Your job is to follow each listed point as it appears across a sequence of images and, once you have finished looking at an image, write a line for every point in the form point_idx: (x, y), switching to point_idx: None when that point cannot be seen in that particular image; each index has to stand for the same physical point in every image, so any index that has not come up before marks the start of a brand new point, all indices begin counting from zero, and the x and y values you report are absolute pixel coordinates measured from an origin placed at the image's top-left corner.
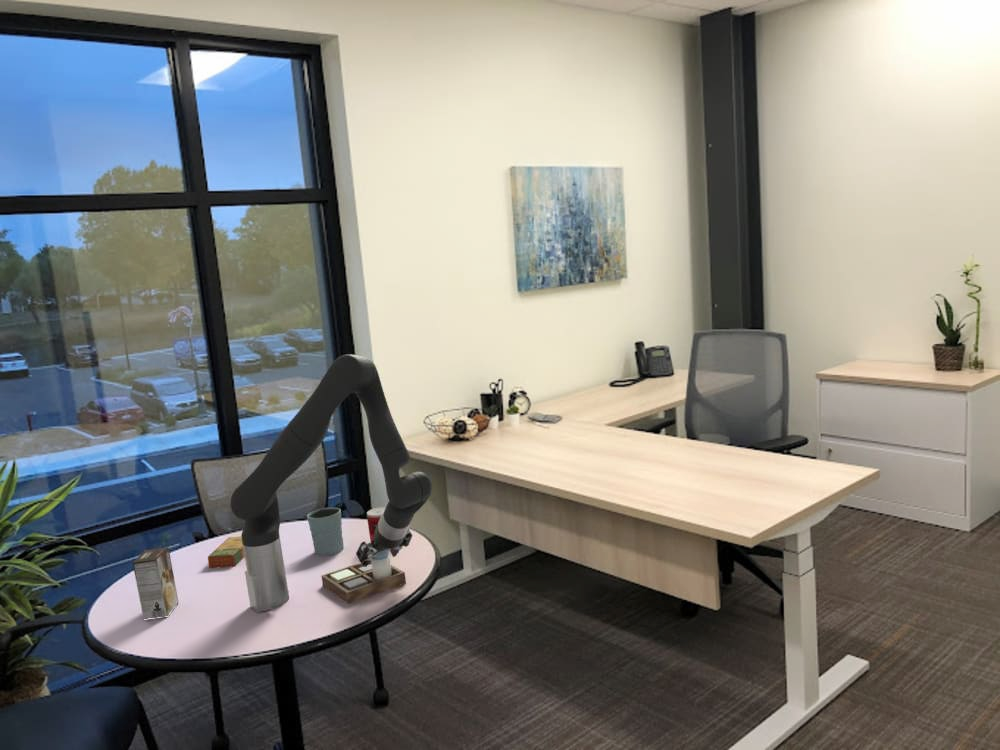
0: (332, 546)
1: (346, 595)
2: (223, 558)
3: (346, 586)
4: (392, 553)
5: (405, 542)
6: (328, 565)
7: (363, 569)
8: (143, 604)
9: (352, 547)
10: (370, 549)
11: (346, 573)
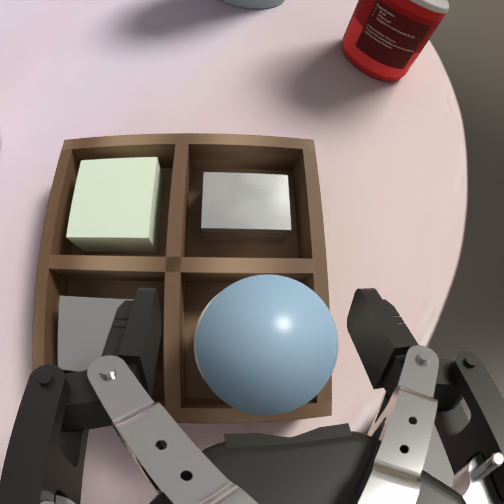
0: None
1: None
2: None
3: (60, 330)
4: (355, 317)
5: (444, 438)
6: (197, 40)
7: (213, 201)
8: None
9: (302, 12)
10: (136, 459)
11: (126, 198)
